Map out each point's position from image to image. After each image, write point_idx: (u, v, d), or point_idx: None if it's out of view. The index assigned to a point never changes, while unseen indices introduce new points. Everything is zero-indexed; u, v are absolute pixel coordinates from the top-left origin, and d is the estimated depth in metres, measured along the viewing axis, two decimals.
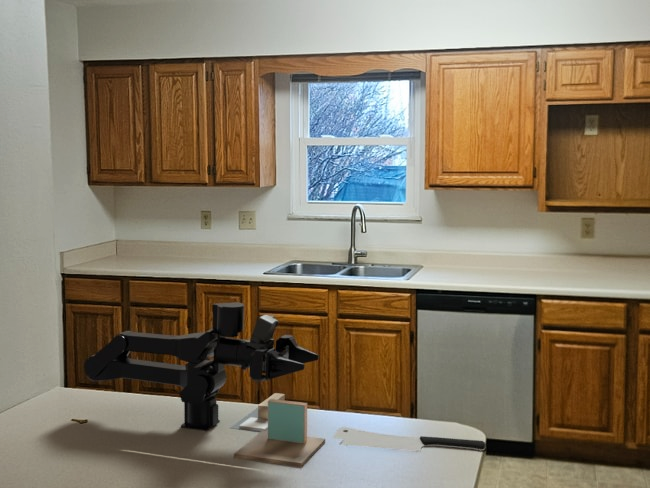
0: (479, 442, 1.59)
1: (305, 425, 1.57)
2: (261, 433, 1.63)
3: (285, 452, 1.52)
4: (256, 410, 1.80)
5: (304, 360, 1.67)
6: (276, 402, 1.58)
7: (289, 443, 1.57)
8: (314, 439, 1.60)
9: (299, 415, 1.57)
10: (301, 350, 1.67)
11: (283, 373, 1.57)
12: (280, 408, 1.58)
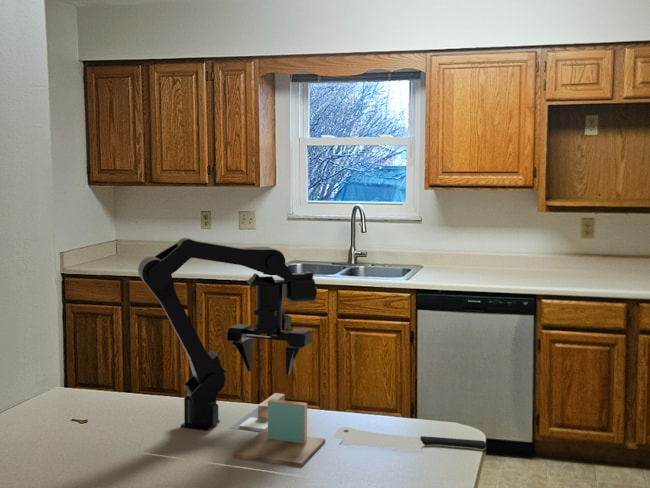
0: (480, 442, 1.59)
1: (305, 425, 1.57)
2: (261, 433, 1.63)
3: (285, 452, 1.52)
4: (256, 410, 1.80)
5: (248, 358, 1.75)
6: (276, 402, 1.58)
7: (289, 443, 1.57)
8: (314, 439, 1.60)
9: (299, 415, 1.57)
10: (251, 353, 1.77)
11: (291, 360, 1.71)
12: (280, 408, 1.58)
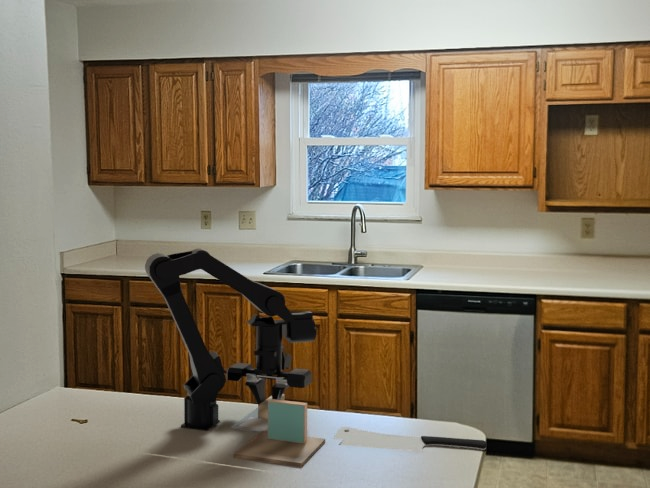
0: (480, 441, 1.59)
1: (305, 425, 1.57)
2: (261, 433, 1.63)
3: (285, 452, 1.52)
4: (256, 410, 1.80)
5: (261, 399, 1.75)
6: (276, 402, 1.58)
7: (289, 443, 1.57)
8: (314, 439, 1.60)
9: (299, 415, 1.57)
10: (264, 393, 1.77)
11: (277, 398, 1.73)
12: (280, 408, 1.58)
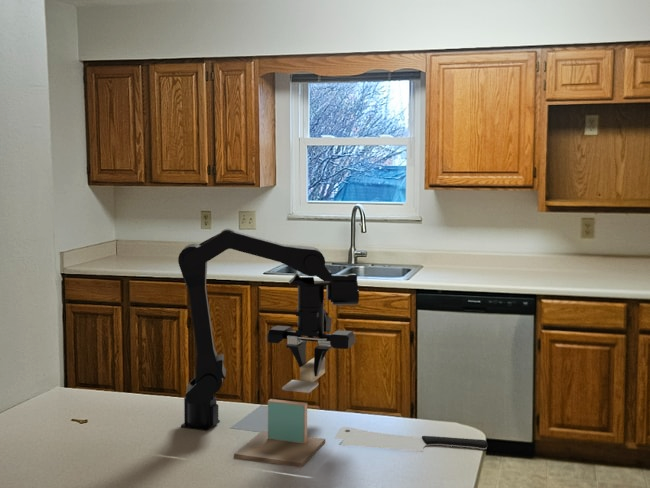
0: (481, 441, 1.59)
1: (305, 425, 1.57)
2: (261, 433, 1.63)
3: (285, 452, 1.52)
4: (256, 410, 1.80)
5: (302, 362, 1.71)
6: (276, 402, 1.58)
7: (289, 443, 1.57)
8: (314, 439, 1.60)
9: (299, 415, 1.57)
10: (305, 356, 1.73)
11: (320, 360, 1.69)
12: (280, 408, 1.58)
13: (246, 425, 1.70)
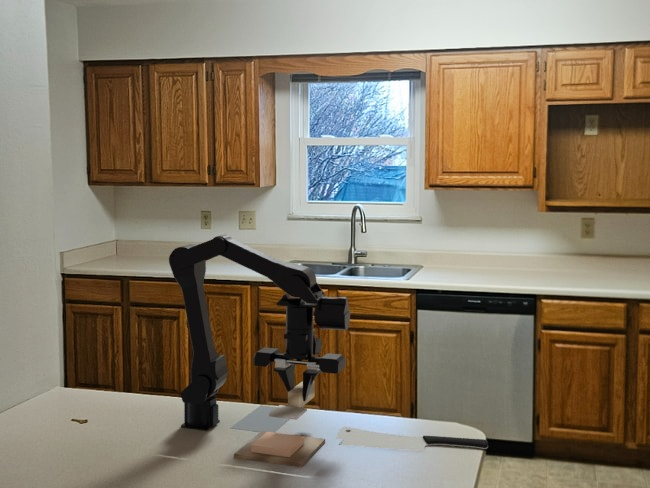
0: (482, 441, 1.59)
1: (297, 447, 1.54)
2: (261, 433, 1.63)
3: None
4: (256, 410, 1.80)
5: (291, 386, 1.64)
6: (260, 452, 1.51)
7: None
8: (314, 439, 1.60)
9: None
10: (293, 380, 1.66)
11: (308, 385, 1.62)
12: None
13: (246, 425, 1.70)
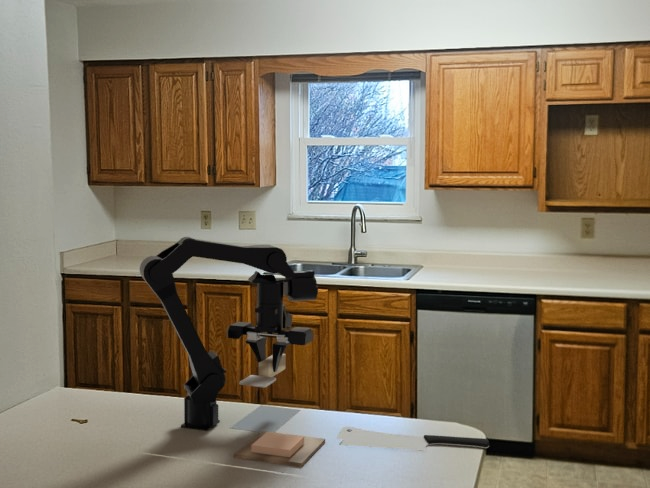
0: (483, 440, 1.60)
1: (297, 447, 1.54)
2: (261, 433, 1.63)
3: None
4: (256, 410, 1.80)
5: (262, 358, 1.74)
6: (260, 452, 1.51)
7: None
8: (314, 439, 1.60)
9: None
10: (265, 352, 1.76)
11: (278, 356, 1.72)
12: None
13: (246, 425, 1.70)
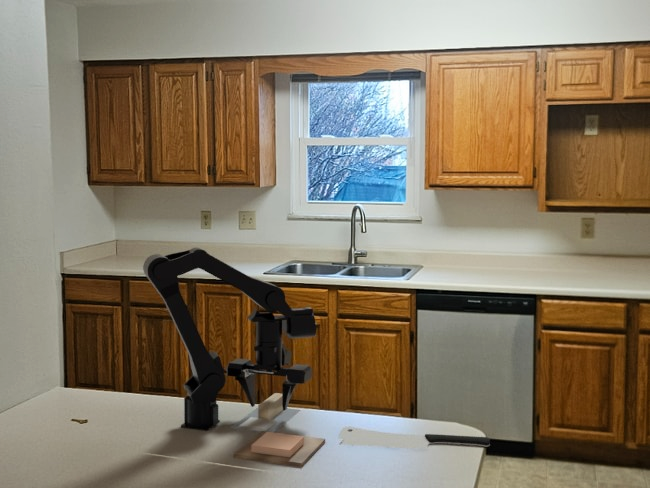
0: (484, 438, 1.61)
1: (297, 447, 1.54)
2: (261, 433, 1.63)
3: None
4: (256, 410, 1.80)
5: (251, 394, 1.76)
6: (260, 452, 1.51)
7: None
8: (314, 439, 1.60)
9: None
10: (254, 388, 1.78)
11: (288, 395, 1.72)
12: None
13: None
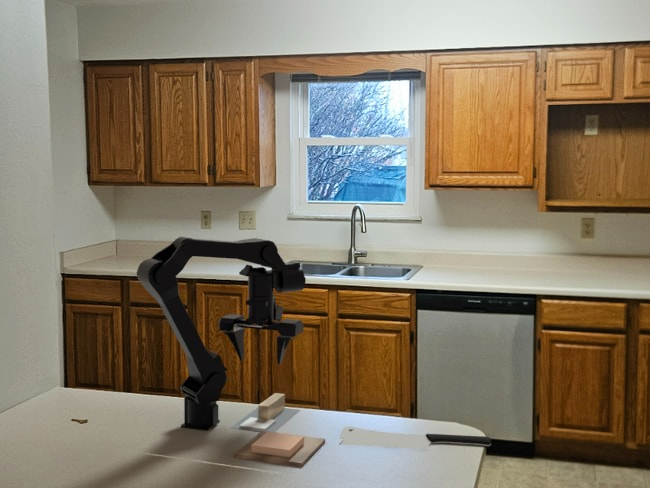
0: (485, 438, 1.61)
1: (297, 447, 1.54)
2: (261, 433, 1.63)
3: None
4: (256, 410, 1.80)
5: (240, 348, 1.78)
6: (260, 452, 1.51)
7: None
8: (314, 439, 1.60)
9: None
10: (243, 342, 1.80)
11: (282, 349, 1.74)
12: None
13: None
